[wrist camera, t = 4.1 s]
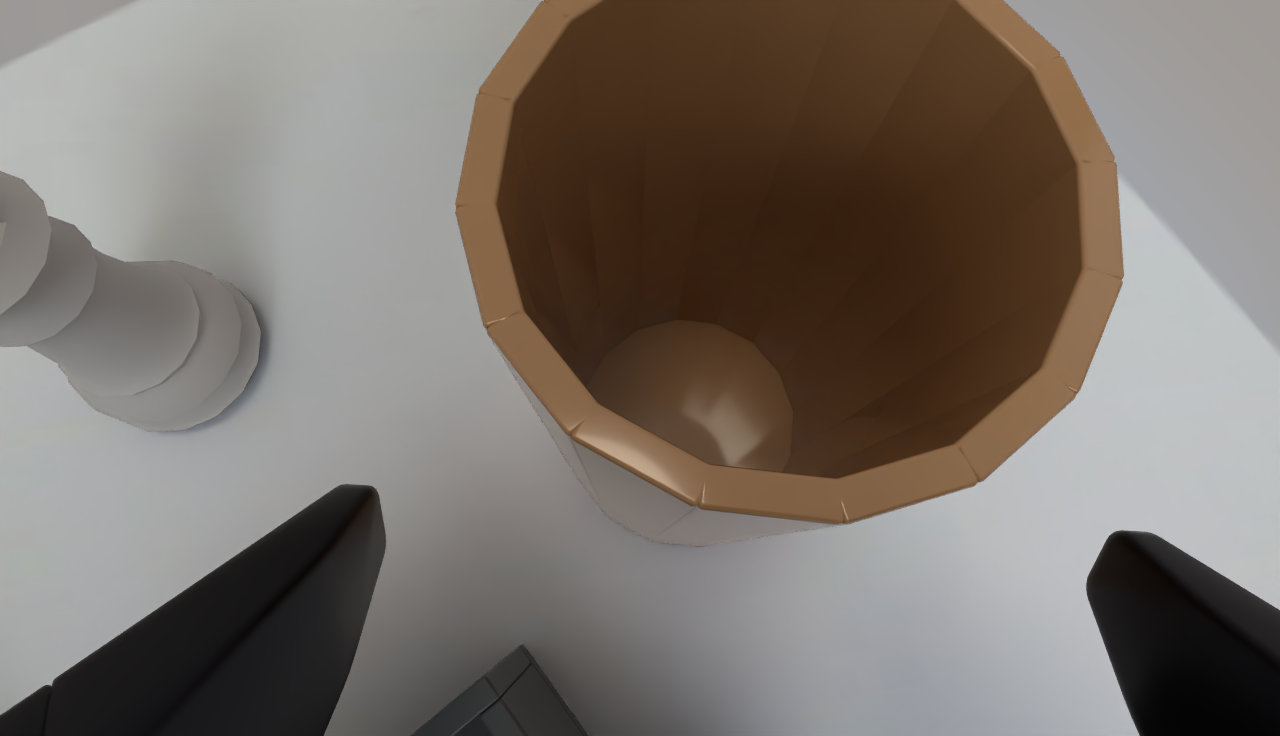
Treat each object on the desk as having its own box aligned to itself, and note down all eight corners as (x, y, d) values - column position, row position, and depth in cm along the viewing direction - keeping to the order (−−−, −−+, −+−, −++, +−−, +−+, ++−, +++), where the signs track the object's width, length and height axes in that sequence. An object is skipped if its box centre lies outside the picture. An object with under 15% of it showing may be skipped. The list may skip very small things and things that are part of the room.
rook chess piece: (68, 380, 20) (-298, 264, 12) (178, 251, 21) (-92, 65, 13) (196, 467, 19) (-99, 405, 11) (303, 330, 20) (100, 187, 12)
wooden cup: (851, 442, 20) (1260, 233, 7) (668, 597, 18) (759, 682, 6) (700, 269, 21) (814, -176, 8) (520, 405, 20) (329, 132, 7)
